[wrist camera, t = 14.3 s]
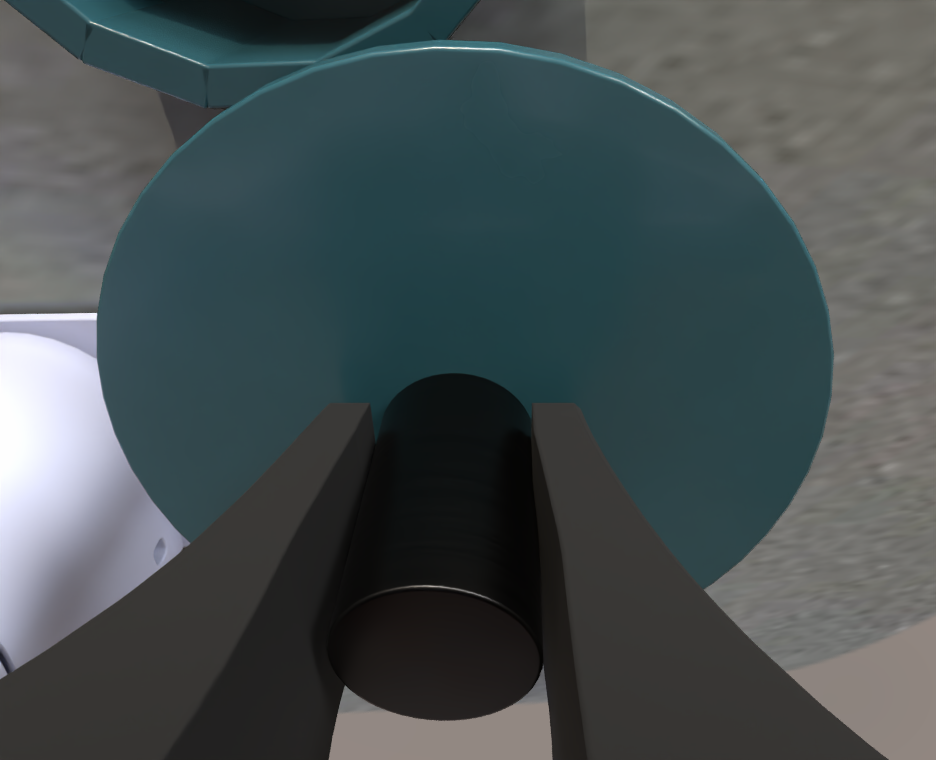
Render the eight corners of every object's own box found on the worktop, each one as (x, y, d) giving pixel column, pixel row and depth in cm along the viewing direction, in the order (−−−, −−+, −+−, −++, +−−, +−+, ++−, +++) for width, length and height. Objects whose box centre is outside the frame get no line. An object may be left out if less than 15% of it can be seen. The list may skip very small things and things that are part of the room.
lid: (740, 615, 15) (831, 900, 11) (216, 605, 15) (105, 869, 11) (903, 16, 9) (1285, 122, 4) (17, 45, 9) (-398, 162, 5)
